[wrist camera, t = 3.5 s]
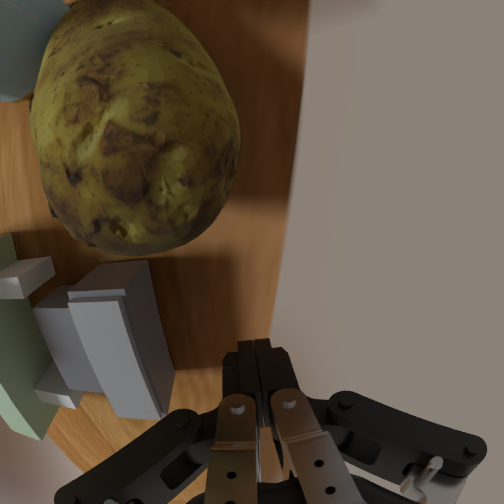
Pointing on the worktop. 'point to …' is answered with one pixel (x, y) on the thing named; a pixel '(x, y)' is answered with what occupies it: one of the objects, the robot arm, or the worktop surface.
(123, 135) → the potato
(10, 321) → the green block cluster
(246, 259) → the worktop surface
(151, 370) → the grey stepped block
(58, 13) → the bottle
